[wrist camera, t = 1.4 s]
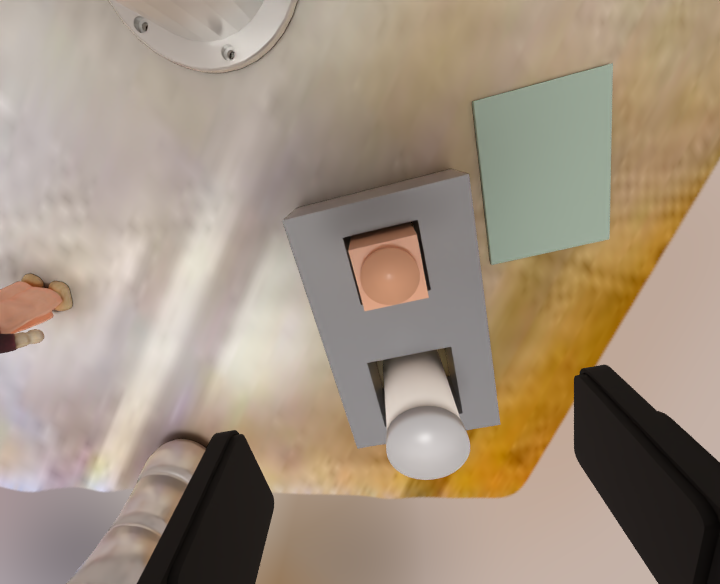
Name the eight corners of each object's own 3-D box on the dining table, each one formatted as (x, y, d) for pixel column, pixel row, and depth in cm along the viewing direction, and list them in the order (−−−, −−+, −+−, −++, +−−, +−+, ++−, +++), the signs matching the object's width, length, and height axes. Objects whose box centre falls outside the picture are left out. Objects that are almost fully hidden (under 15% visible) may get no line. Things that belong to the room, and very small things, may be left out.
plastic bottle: (195, 421, 36) (12, 712, 18) (233, 465, 38) (107, 764, 20) (146, 442, 37) (-72, 735, 19) (186, 484, 40) (26, 781, 21)
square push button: (351, 231, 26) (347, 253, 21) (408, 218, 26) (418, 236, 20) (365, 283, 28) (364, 315, 22) (418, 271, 27) (430, 301, 22)
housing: (296, 207, 27) (282, 220, 23) (451, 168, 26) (468, 173, 22) (359, 408, 35) (357, 448, 30) (482, 385, 33) (500, 424, 29)
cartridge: (375, 335, 32) (378, 425, 22) (433, 323, 31) (464, 410, 21) (387, 382, 34) (395, 484, 23) (442, 371, 33) (474, 472, 23)
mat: (471, 101, 24) (473, 101, 24) (609, 64, 23) (612, 63, 23) (490, 263, 29) (491, 264, 28) (606, 237, 28) (609, 239, 27)
